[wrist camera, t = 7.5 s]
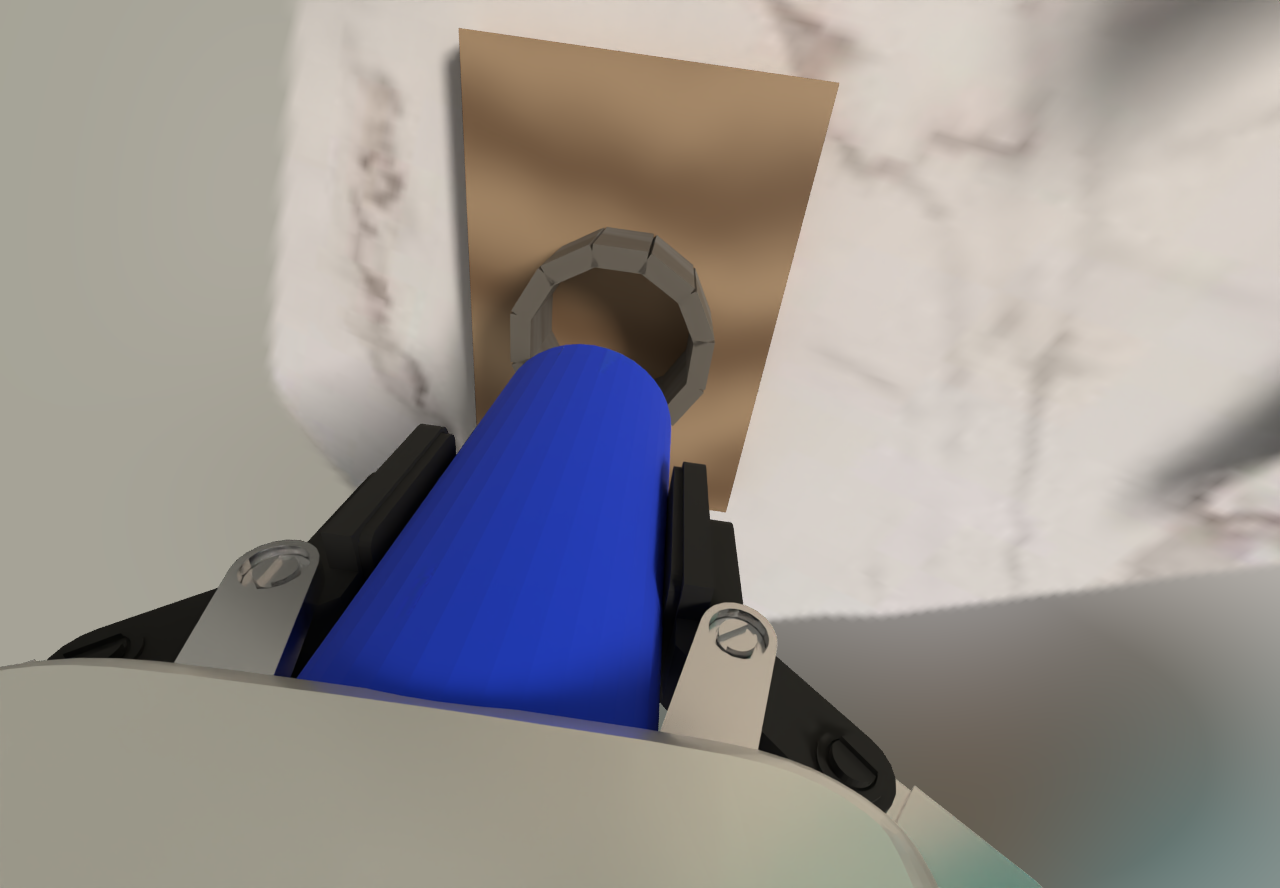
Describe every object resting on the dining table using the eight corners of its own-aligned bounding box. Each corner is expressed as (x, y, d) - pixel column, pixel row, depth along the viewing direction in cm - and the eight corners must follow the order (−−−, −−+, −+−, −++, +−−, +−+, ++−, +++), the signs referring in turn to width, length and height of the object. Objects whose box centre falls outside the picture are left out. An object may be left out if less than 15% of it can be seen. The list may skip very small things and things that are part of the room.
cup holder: (472, 34, 20) (408, 4, 16) (829, 86, 20) (873, 71, 16) (487, 462, 31) (451, 522, 26) (723, 496, 31) (731, 562, 26)
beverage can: (480, 429, 17) (-184, 1382, 4) (560, 300, 15) (-419, 1591, 2) (612, 508, 18) (435, 1429, 5) (705, 401, 16) (803, 1586, 3)
